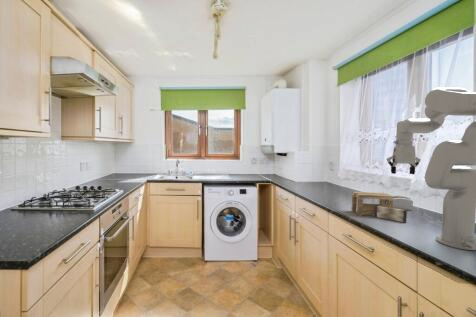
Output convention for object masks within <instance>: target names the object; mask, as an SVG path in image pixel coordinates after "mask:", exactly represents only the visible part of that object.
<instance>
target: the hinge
mask: <svg viewBox="0 0 476 317" xmlns="http://www.w3.org/2000/svg"><path fill="white" fill-rule="evenodd" d="M392 196H393V207H392V208H394V209H401V210H407V211H412V210H413V205H414V202H413V199H411V198H410V197H408V196H403V195H392ZM385 204H387V200H386V199H385Z"/></svg>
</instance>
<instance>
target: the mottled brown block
mask: <svg viewBox="0 0 476 317" xmlns="http://www.w3.org/2000/svg"><path fill="white" fill-rule="evenodd" d="M407 214H408V210H401V209H394V208H388V207H381V206H375V215H374V217H375V218H379V219H384V220H390V221H395V222H396V221H397V222H403V223H407V217H408V216H407Z"/></svg>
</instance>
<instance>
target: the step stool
mask: <svg viewBox="0 0 476 317" xmlns="http://www.w3.org/2000/svg"><path fill="white" fill-rule="evenodd" d="M351 193H352V194H351V197H352V198H351V212H353V213H356V215H357V216H358V217H363V215H369V216H370V215H371V216H372V215H373V216H375V206H381V207H388V208H392V207H393V196H394V195H391V194H388V193H385V192H376V191H375V192H374V191H372V192H371V191H352V192H351ZM364 199H367V200H379V203H365V202H364V203H363V200H364ZM385 199H386V200H387V204H385Z"/></svg>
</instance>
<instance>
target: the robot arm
mask: <svg viewBox="0 0 476 317" xmlns="http://www.w3.org/2000/svg"><path fill="white" fill-rule="evenodd" d="M424 105H425V106H426V107H425V108H424V114H425V117H426V118H406V119H404V120H399V121H398V122H397V123H396V137H395V140H393V144H394V148H393V151H392V155H391V156H389V157H387V158H386V161H387V164H388V165H389V166H390V172H391V174H393V175H396V174H397V167H396V166H397V165H398V164H405V165H406V164H409V166H410V167H409V174H410V175H415V173H416V168H417V166H418V165H420V162H421V161H422V160H421V158H419V157H417V154H416V148H415V145H413V144H414V143H413V141H414V140H413V139H414V134H430V133H432V132H434V131H436V130H438V129H440V128H441V127H442V126H443V124H444V123H445V120H446V119H445V118H446V117H448V116H459V117H460V116H466V117H467V116H470V117H471V116H472V117H473V116H476V92H475V91H474V92H473V91H471V92H470V91H469V90H467V89H466V88H462V87H435V88H433V89H432V90H430V91H429V92H428V93H427V94H426V95H425V98H424ZM472 166H473V167H472ZM474 166H476V119H475V120H474V121H472V122H471V123H469V125H468V126H467V127H466V128H465V131H464V134H463V136H462V137H461V139H459V140H444V141H441V142H440V143H439V144H438V145H436V147H435V148H434V149H433V152H432V155H431V157H430V160H429V162H428V165H427V167H426V171H425V174H424V182H425V185H427V186H428V187H429V188H431V189H434V190H445V191H447V192H446V193H445V195H444V197H443V202H442V214H441V216H442V218H441V232H440V233H441V234H438V235H436V237H435V239H436V241H437V242H438V243H440V244H442V245H445V246H448V247H452V248H456V249H460V250H466V251H476V237H475V227H476V226H475V225H476V168H474Z"/></svg>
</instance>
